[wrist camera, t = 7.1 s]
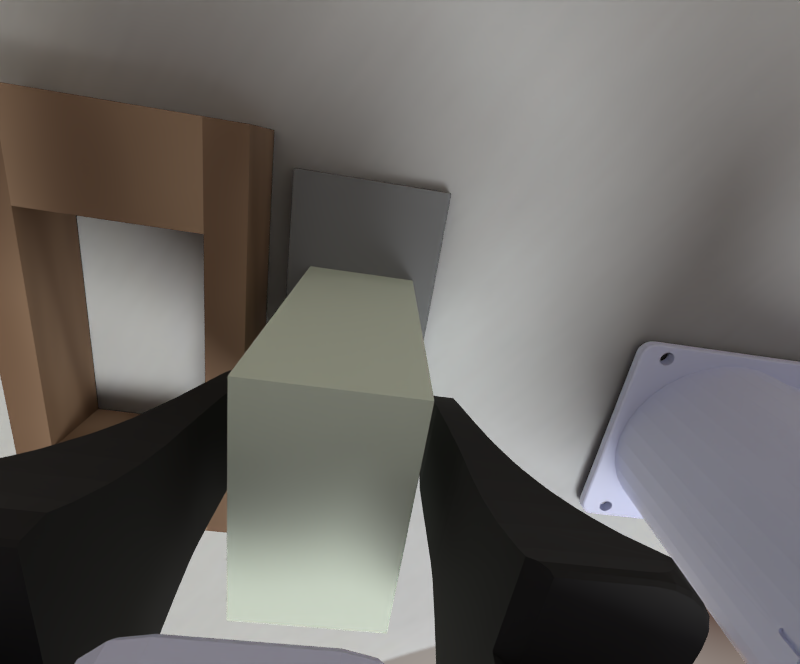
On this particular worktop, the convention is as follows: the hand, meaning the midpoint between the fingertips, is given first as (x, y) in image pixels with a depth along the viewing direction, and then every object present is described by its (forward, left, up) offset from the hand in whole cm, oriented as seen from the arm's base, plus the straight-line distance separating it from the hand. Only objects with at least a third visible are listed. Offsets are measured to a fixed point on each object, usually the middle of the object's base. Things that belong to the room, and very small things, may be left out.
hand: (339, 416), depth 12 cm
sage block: (0, 0, -4) cm, 4 cm away
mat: (0, 0, -5) cm, 5 cm away
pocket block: (+7, 0, -5) cm, 8 cm away
